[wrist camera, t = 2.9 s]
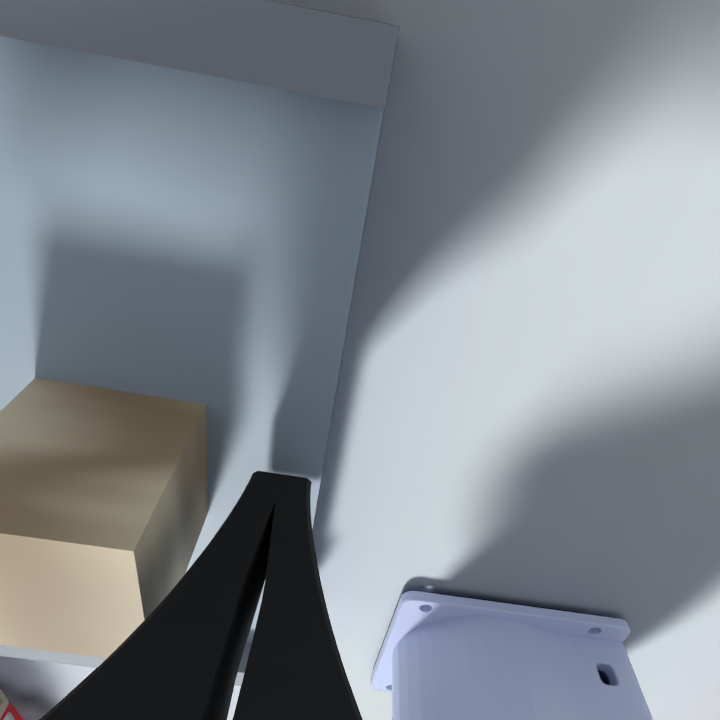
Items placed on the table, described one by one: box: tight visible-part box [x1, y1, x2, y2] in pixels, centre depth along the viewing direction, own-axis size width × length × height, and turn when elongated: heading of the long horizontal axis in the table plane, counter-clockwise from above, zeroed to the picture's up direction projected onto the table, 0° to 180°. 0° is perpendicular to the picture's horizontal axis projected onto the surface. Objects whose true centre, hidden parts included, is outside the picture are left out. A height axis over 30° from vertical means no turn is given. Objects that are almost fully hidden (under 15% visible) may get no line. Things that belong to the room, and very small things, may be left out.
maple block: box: [0, 378, 208, 658], centre depth 11 cm, size 4×4×4 cm
